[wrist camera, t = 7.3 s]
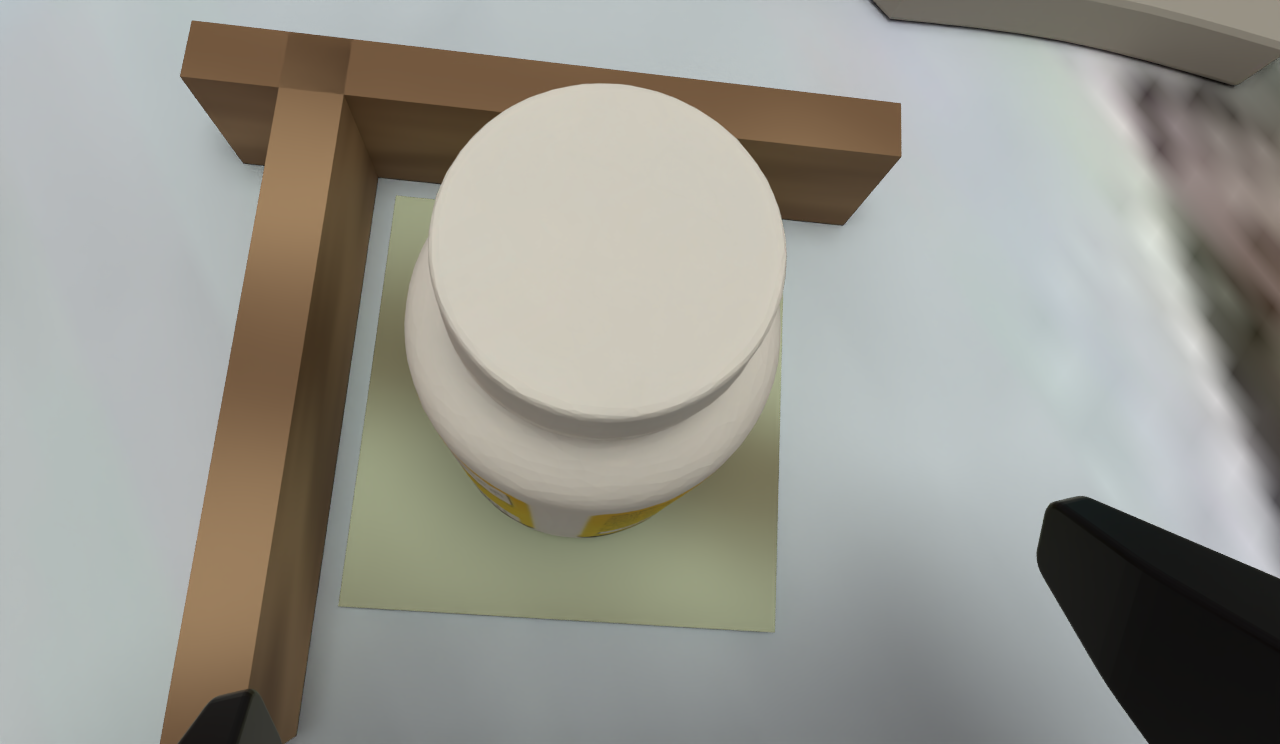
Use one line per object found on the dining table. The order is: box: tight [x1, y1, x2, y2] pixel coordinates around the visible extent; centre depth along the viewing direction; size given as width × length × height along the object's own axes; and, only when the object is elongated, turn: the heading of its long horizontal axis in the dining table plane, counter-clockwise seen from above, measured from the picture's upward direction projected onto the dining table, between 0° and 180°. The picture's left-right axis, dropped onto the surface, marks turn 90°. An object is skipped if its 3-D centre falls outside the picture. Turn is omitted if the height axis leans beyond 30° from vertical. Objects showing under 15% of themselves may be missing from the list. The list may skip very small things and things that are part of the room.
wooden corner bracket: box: [160, 21, 901, 744], centre depth 17 cm, size 13×14×4 cm
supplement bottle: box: [404, 83, 787, 538], centre depth 14 cm, size 5×5×10 cm
